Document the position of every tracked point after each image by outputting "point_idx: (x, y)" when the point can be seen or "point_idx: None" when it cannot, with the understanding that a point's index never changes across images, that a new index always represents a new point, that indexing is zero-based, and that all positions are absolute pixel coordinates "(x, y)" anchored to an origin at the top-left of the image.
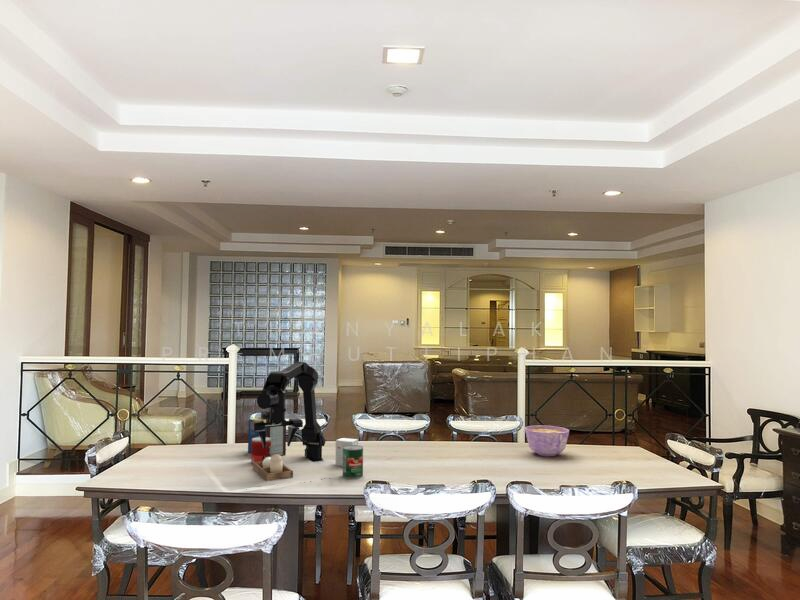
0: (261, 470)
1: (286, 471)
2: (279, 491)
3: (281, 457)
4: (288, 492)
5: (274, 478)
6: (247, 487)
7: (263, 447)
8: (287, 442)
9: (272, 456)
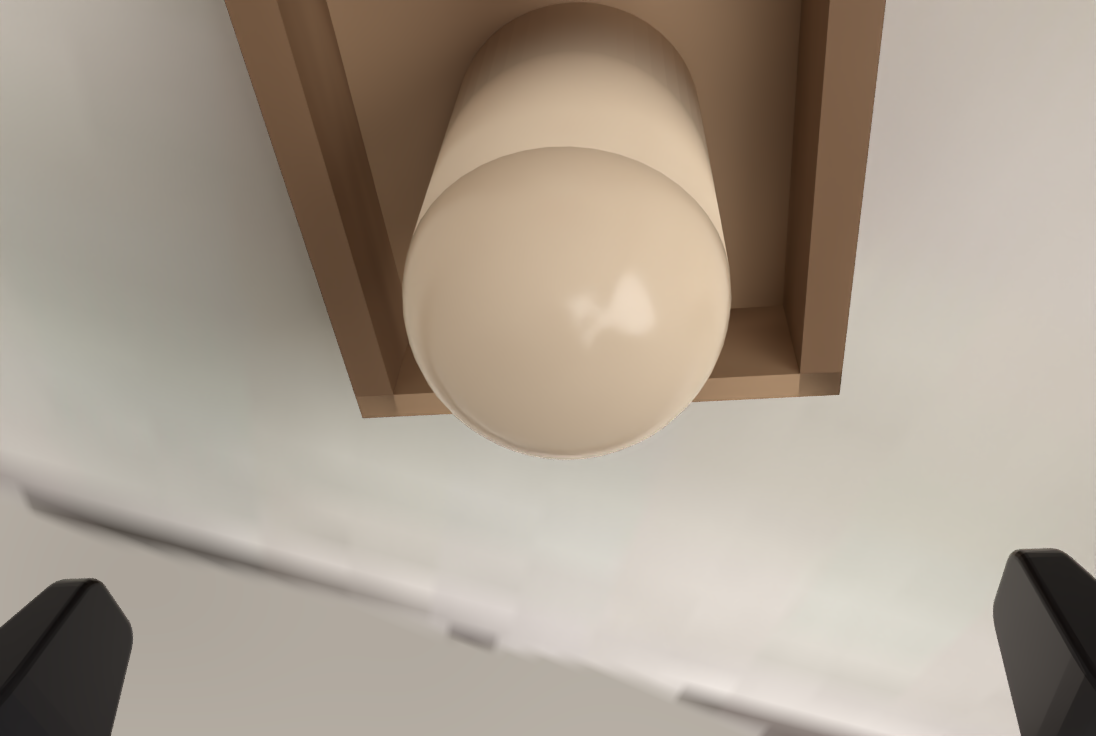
0: (256, 69)
1: (722, 378)
2: (512, 595)
3: (683, 409)
4: (594, 641)
5: None
6: (131, 371)
7: (50, 604)
8: (1066, 669)
9: (441, 371)
